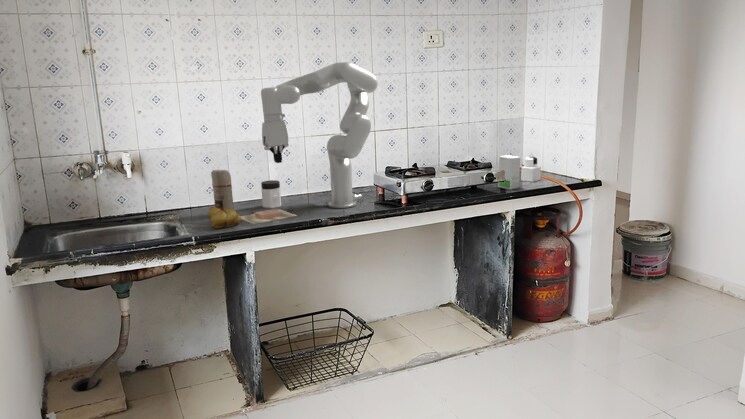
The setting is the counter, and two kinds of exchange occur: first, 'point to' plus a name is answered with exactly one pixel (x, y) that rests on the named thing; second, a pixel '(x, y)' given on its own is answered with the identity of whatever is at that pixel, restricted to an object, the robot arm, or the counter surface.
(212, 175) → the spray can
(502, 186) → the skincare box
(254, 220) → the packaged sliced meat
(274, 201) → the jar
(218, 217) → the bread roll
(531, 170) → the medicine bottle
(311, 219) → the counter surface
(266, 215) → the tile
